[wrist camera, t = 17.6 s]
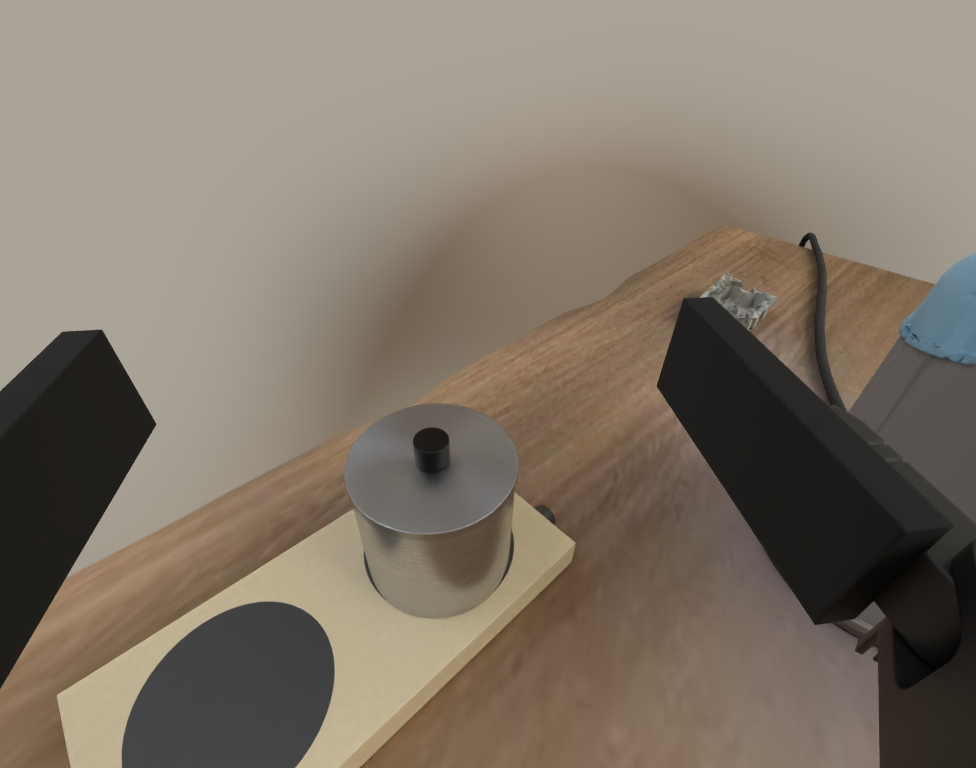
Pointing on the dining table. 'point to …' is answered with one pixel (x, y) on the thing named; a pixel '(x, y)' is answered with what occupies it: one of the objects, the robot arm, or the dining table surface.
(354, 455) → the pot
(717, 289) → the egg carton
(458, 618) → the hot plate
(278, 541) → the dining table surface
